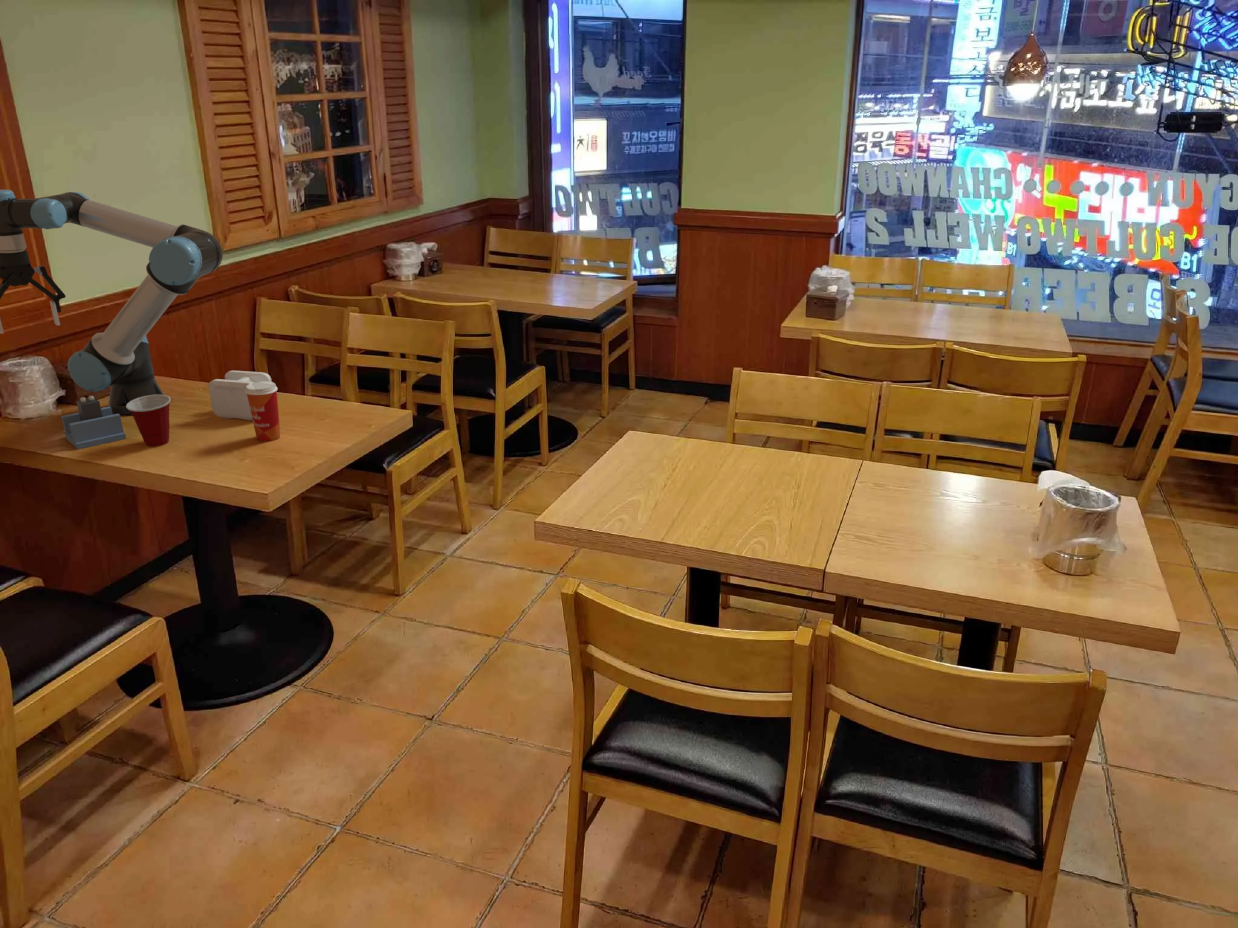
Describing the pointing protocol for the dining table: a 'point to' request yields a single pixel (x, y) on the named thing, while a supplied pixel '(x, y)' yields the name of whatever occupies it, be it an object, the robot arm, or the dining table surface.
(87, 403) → the plug
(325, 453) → the dining table surface
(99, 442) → the holder
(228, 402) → the cable organizer
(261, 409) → the coffee cup
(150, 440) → the plastic cup
